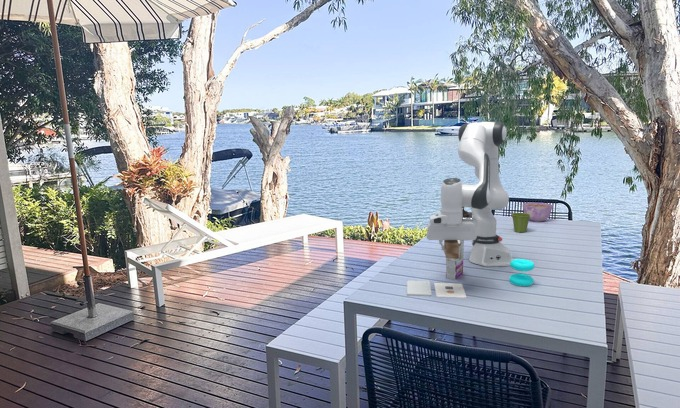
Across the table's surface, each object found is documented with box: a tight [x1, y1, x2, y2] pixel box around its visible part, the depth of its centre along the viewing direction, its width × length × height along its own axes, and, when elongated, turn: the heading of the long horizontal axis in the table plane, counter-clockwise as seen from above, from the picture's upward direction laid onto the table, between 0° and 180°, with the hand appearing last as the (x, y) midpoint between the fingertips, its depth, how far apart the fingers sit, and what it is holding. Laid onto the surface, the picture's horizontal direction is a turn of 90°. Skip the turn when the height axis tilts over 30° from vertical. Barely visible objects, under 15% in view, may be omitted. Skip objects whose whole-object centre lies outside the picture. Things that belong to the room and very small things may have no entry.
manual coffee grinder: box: [462, 207, 473, 221], centre depth 302 cm, size 16×11×18 cm
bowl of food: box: [522, 201, 554, 223], centre depth 317 cm, size 20×20×12 cm
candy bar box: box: [445, 240, 465, 280], centre depth 205 cm, size 11×5×16 cm, turn 148°
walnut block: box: [443, 240, 459, 259], centre depth 185 cm, size 5×10×6 cm, turn 172°
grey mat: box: [406, 280, 433, 297], centre depth 190 cm, size 10×16×1 cm, turn 172°
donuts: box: [508, 258, 536, 287], centre depth 194 cm, size 10×10×10 cm
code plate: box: [433, 282, 467, 298], centre depth 188 cm, size 12×16×1 cm
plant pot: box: [511, 212, 531, 233], centre depth 286 cm, size 12×12×11 cm
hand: (451, 249), depth 185 cm, fingers closed on walnut block, 5 cm apart
